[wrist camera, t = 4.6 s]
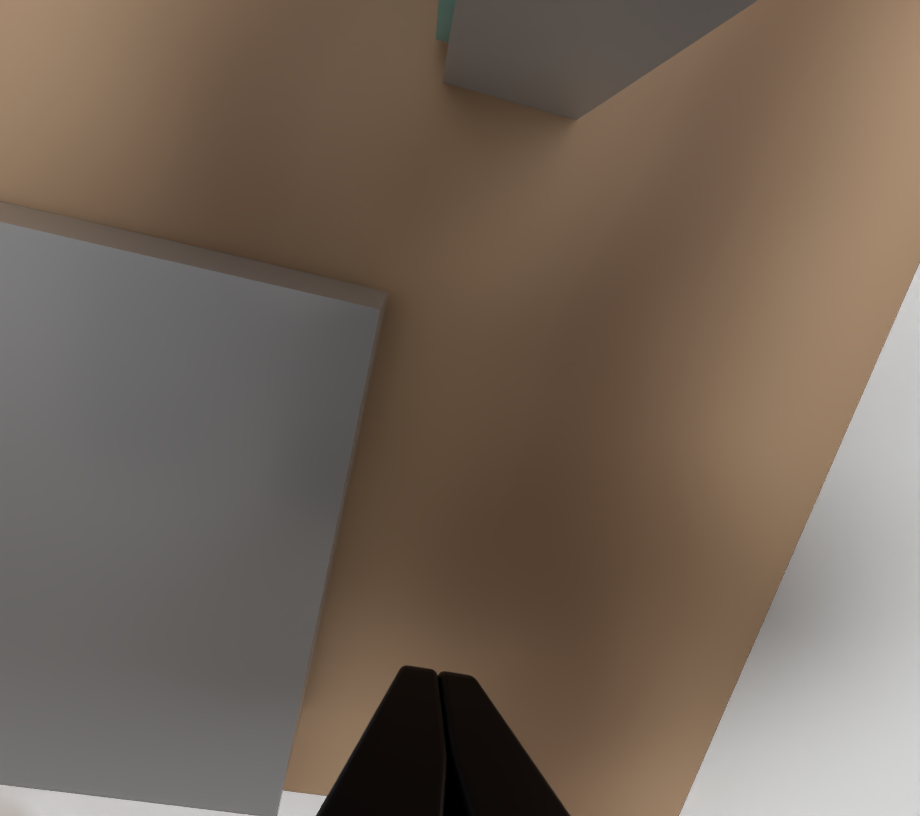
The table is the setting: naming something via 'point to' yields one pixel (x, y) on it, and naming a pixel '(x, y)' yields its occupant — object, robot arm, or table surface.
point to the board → (526, 328)
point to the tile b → (568, 46)
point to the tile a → (166, 507)
